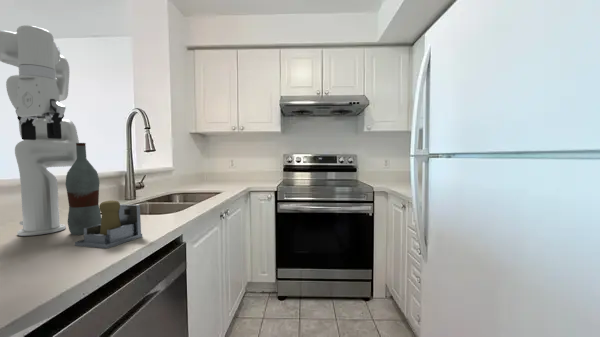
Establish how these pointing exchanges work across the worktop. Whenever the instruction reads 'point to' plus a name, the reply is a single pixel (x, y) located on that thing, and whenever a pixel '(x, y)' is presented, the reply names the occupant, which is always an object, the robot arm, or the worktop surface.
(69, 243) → the worktop surface
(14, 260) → the worktop surface
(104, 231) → the cork
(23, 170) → the robot arm
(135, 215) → the clip bracket
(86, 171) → the bottle
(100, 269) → the worktop surface
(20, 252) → the worktop surface
